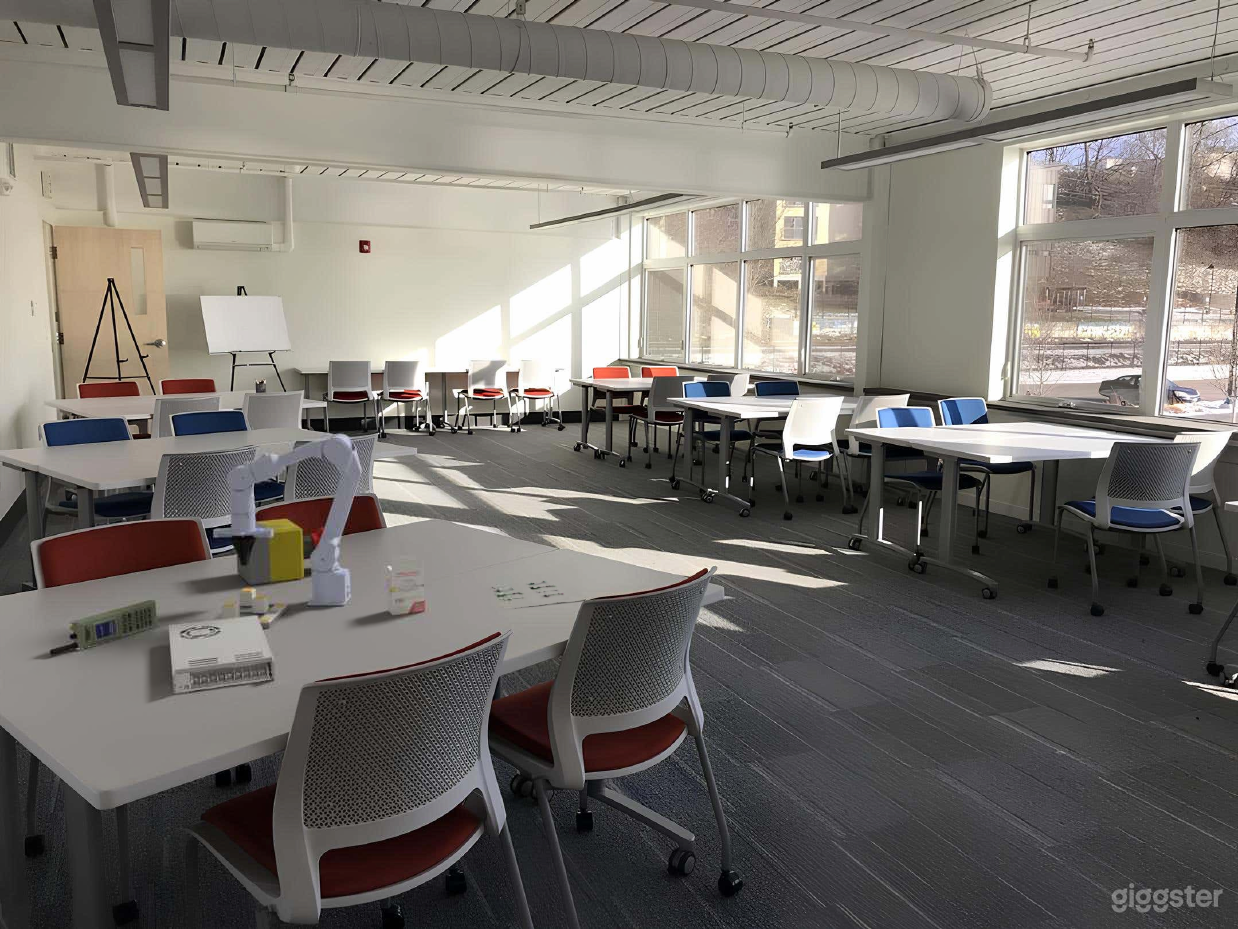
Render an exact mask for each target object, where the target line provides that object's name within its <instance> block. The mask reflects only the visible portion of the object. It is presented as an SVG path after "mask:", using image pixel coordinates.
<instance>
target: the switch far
mask: <svg viewBox="0 0 1238 929" xmlns="http://www.w3.org/2000/svg"><path fill="white" fill-rule="evenodd" d="M256 595H257V591H256V588H254V587H252V588H251V587H244V588H243V589H241V591H240V592H239V604H240V606H252V599H253V598H254V597H255V596H256Z"/></svg>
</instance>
